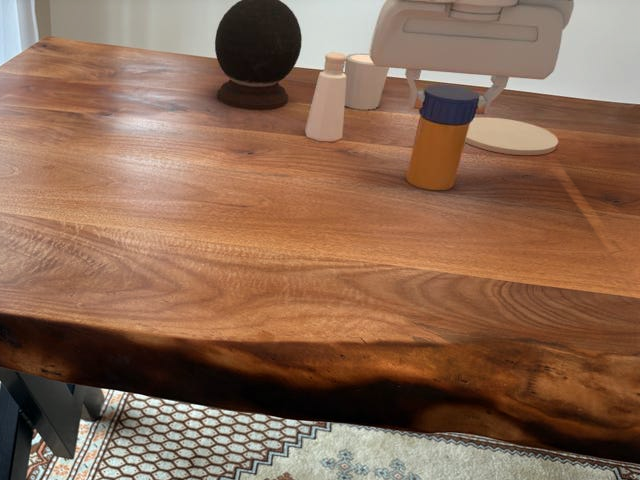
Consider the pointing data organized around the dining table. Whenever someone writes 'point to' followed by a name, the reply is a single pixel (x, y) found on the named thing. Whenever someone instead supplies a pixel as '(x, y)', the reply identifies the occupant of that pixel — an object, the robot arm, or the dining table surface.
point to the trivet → (510, 137)
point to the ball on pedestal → (257, 53)
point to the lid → (449, 104)
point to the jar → (436, 154)
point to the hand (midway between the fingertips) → (446, 110)
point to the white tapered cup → (363, 82)
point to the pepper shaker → (328, 101)
